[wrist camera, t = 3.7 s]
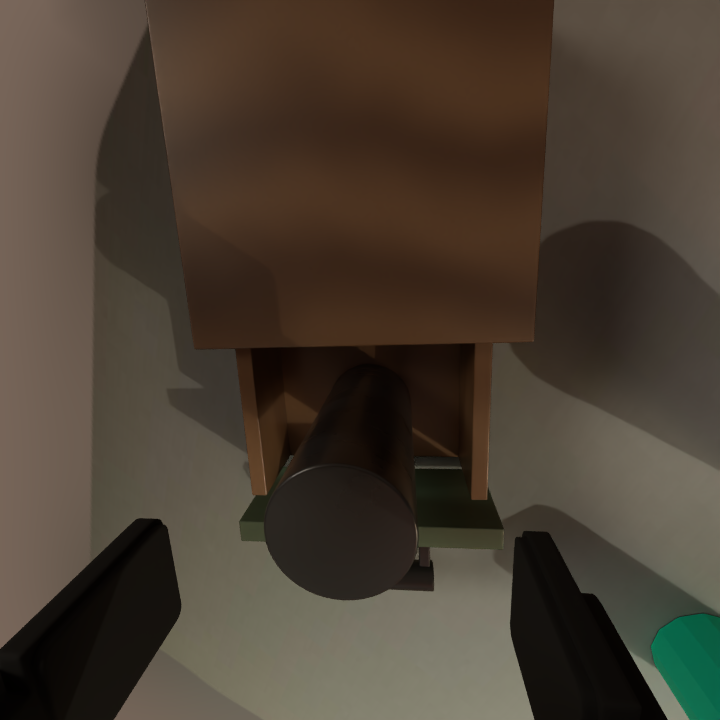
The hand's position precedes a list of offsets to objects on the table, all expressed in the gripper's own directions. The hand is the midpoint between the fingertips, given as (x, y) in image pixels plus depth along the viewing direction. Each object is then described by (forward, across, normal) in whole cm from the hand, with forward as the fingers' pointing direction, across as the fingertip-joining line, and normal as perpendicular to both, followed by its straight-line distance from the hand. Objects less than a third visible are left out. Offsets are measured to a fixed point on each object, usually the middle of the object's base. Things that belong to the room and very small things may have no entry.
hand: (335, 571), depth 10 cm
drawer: (+15, 0, +1) cm, 15 cm away
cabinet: (+16, 0, -12) cm, 20 cm away
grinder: (+14, 0, 0) cm, 14 cm away
